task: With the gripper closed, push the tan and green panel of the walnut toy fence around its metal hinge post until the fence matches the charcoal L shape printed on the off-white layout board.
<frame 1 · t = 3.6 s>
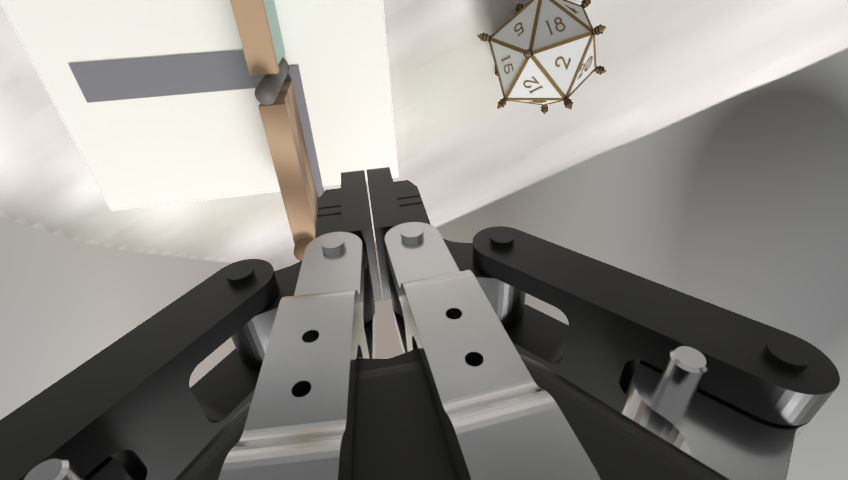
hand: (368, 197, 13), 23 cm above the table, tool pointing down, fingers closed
layout board: (221, 55, 30), on the table
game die: (522, 44, 34), on the table
fixed fence section: (281, 65, 31), resting on layout board
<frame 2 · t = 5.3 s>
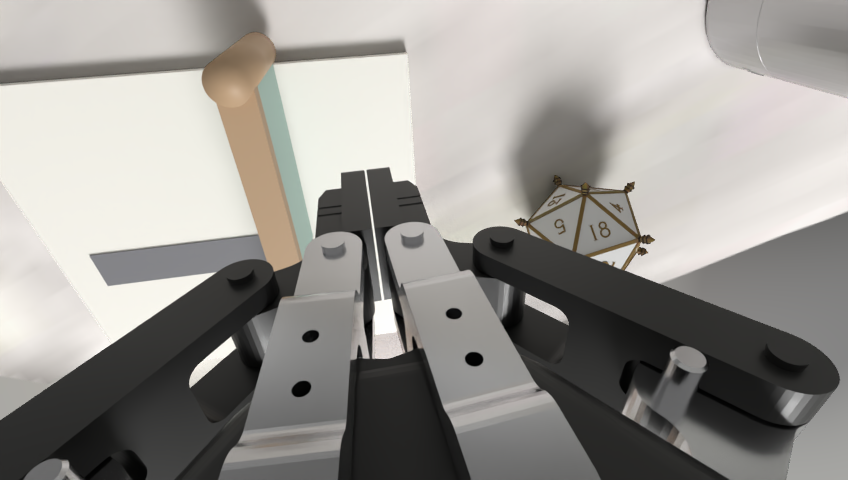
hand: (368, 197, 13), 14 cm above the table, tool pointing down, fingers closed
layout board: (246, 235, 29), on the table
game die: (557, 207, 32), on the table
tan and green panel: (274, 174, 22), point 5 cm above the table, hinge at 0.0°
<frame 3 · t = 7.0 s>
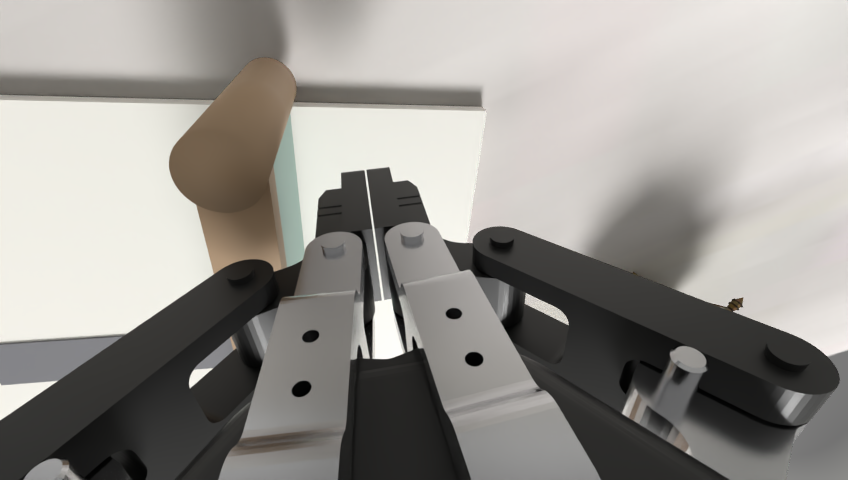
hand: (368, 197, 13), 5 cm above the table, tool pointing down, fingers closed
layout board: (218, 324, 21), on the table
tan and green panel: (275, 278, 14), point 5 cm above the table, hinge at 0.0°, touching gripper
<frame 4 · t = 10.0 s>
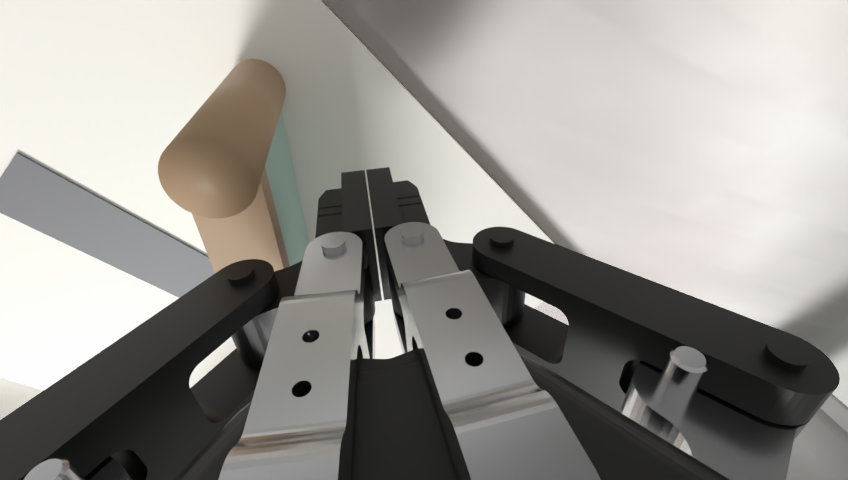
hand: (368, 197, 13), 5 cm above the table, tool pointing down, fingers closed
layout board: (265, 284, 20), on the table
tan and green panel: (282, 280, 14), point 5 cm above the table, hinge at 48.1°, touching gripper
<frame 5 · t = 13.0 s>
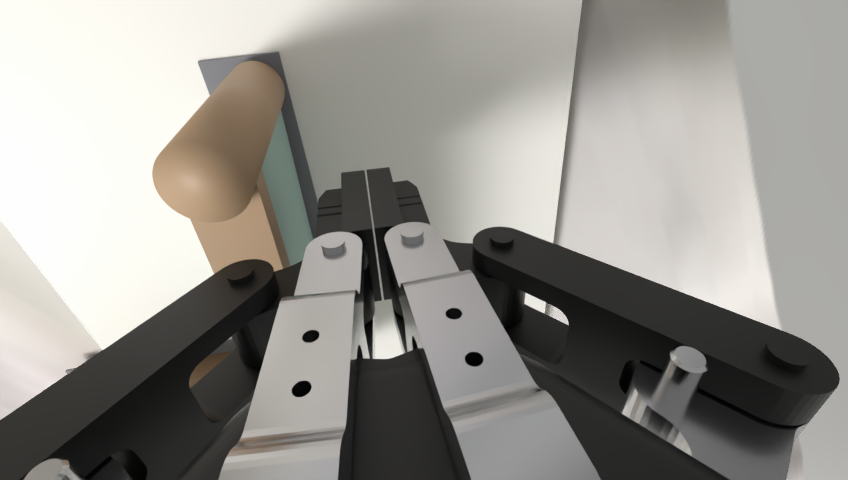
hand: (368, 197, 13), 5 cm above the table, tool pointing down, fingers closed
layout board: (330, 269, 20), on the table
fixed fence section: (327, 331, 22), resting on layout board
tan and green panel: (286, 281, 14), point 5 cm above the table, hinge at 88.5°, touching gripper
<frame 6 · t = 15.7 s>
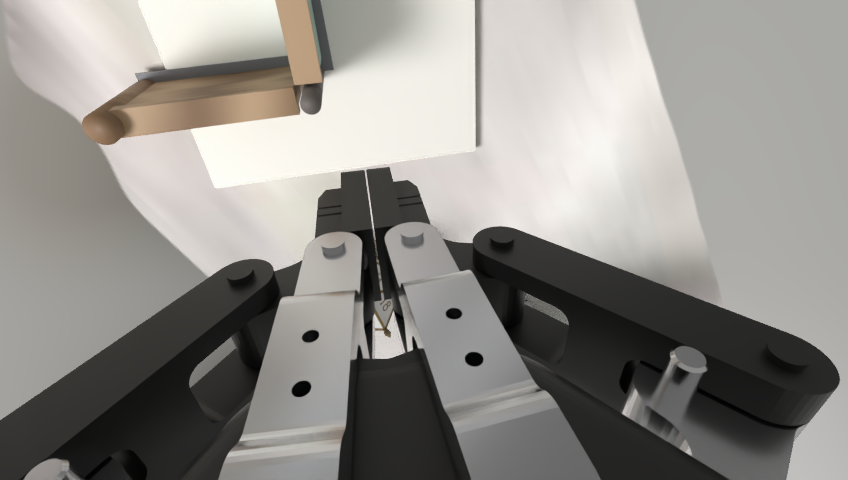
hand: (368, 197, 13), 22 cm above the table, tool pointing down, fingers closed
layout board: (317, 7, 29), on the table
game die: (358, 265, 42), on the table
fixed fence section: (316, 69, 31), resting on layout board
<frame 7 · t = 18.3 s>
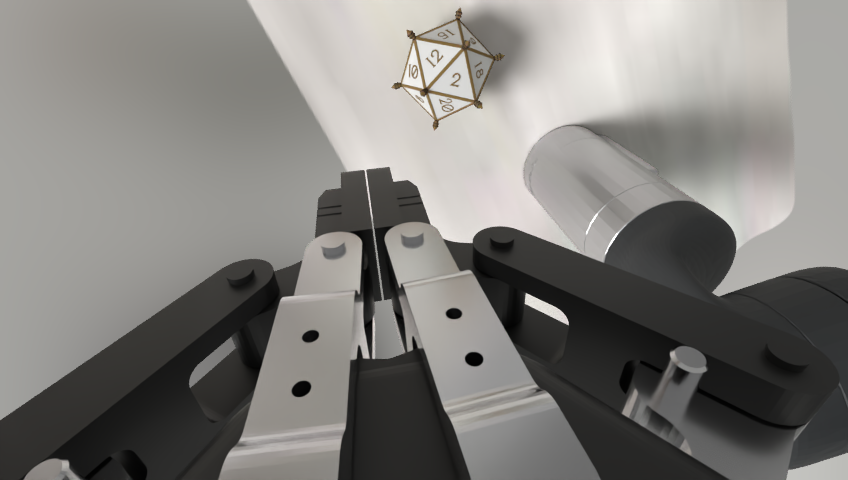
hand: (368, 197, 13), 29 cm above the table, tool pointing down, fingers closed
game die: (437, 62, 39), on the table
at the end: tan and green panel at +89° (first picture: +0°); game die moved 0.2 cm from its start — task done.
